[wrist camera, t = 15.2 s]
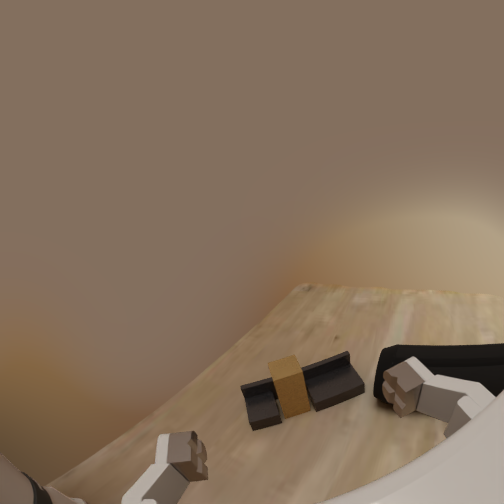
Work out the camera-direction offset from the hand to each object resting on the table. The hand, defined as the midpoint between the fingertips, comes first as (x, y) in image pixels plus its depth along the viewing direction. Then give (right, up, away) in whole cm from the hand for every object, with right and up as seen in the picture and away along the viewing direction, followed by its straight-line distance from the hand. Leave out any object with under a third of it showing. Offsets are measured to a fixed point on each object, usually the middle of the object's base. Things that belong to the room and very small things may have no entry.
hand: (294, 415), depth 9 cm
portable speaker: (+30, -17, +22) cm, 41 cm away
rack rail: (+8, -20, +33) cm, 39 cm away
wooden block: (+6, -20, +33) cm, 39 cm away
